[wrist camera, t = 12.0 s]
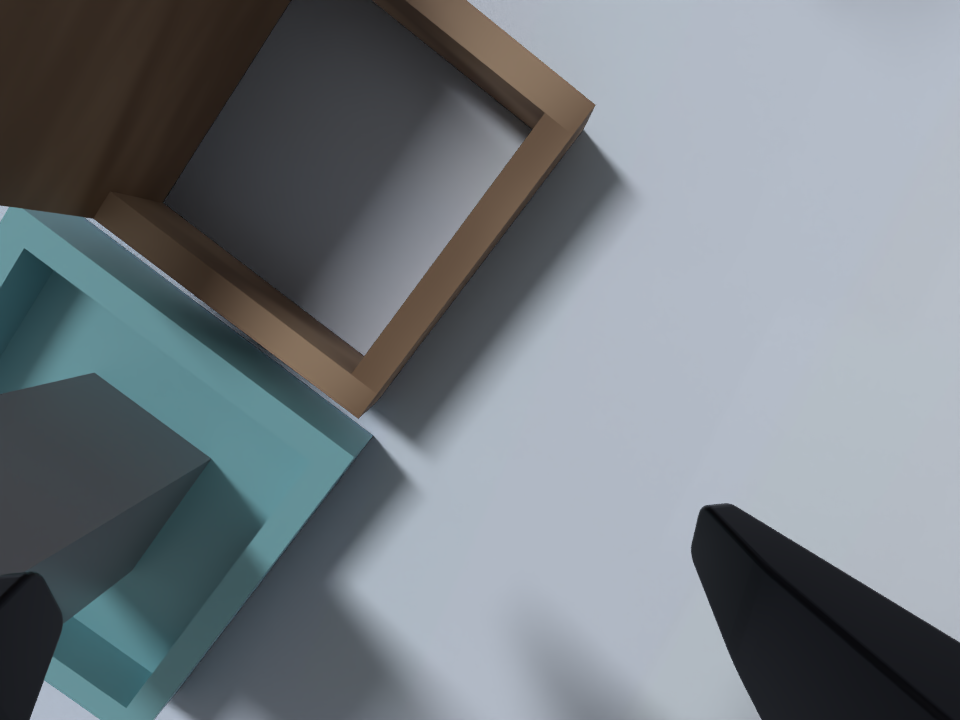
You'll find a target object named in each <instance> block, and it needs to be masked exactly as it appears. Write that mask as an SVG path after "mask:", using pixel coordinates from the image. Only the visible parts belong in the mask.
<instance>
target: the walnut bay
mask: <svg viewBox="0 0 960 720" xmlns="http://www.w3.org/2000/svg"><path fill="white" fill-rule="evenodd" d="M290 1H291V0H0V205H1V206H8V207H15V208H22V209H29V210H36V211H43V212H50V213H57V214H65V215H72V216H79V217H86V218H93V219H94V220H96V221H97V222H98V223H100V224H101V225H102V226H104V227H105V228H106V229H108V230H109V231H110V232H112V233H113V234H114V235H116V236H117V237H118V238H120V239H121V240H122V241H124V242H125V243H126V244H128V245H129V246H130V247H132V248H133V249H134V250H136V251H137V252H138V253H140V254H141V255H142V256H143V257H145V258H146V259H147V260H149V261H150V262H151V263H153V264H154V265H155V266H157V267H158V268H159V269H161V270H162V271H163V272H165V273H166V274H167V275H169V276H170V277H171V278H173V279H174V280H175V281H177V282H178V283H179V284H181V285H182V286H183V287H185V288H186V289H187V290H188V291H190V292H191V293H192V294H194V295H195V296H196V297H198V298H199V299H200V300H202V301H203V302H204V303H206V304H207V305H208V306H210V307H211V308H212V309H214V310H215V311H216V312H218V313H219V314H220V315H222V316H223V317H224V318H226V319H227V320H228V321H230V322H231V323H232V324H234V325H235V326H236V327H237V328H239V329H240V330H241V331H243V332H244V333H245V334H247V335H248V336H249V337H251V338H252V339H253V340H255V341H256V342H257V343H259V344H260V345H261V346H263V347H264V348H265V349H267V350H268V351H269V352H271V353H272V354H273V355H275V356H276V357H277V358H279V359H280V360H281V361H283V362H284V363H285V364H286V365H288V366H289V367H290V368H292V369H293V370H294V371H296V372H297V373H298V374H300V375H301V376H302V377H304V378H305V379H306V380H308V381H309V382H310V383H312V384H313V385H314V386H316V387H317V388H318V389H320V390H321V391H322V392H324V393H325V394H326V395H328V396H329V397H330V398H332V399H333V400H334V401H335V402H337V403H338V404H339V405H341V406H342V407H343V408H345V409H346V410H347V411H349V412H350V413H351V414H353V415H354V416H355V417H357V418H358V419H359V418H360V417H361V416H362V415H363V414H364V413H365V412H366V411H367V410H368V409H369V408H370V407H372V406H373V405H374V404H375V403H376V402H377V401H378V400H379V398H380V397H381V396H382V394H383V393H384V392H385V390H386V389H387V388H388V386H389V385H390V384H391V383H392V381H393V380H394V379H395V377H396V376H397V375H398V373H399V372H400V371H401V369H402V368H403V367H404V365H405V364H406V363H407V361H408V360H409V359H410V357H411V356H412V355H413V354H414V352H415V351H416V350H417V348H418V347H419V346H420V344H421V343H422V342H423V340H424V339H425V338H426V336H427V335H428V334H429V332H430V331H431V330H432V328H433V327H434V326H435V325H436V323H437V322H438V321H439V319H440V318H441V317H442V315H443V314H444V313H445V311H446V310H447V309H448V307H449V306H450V305H451V303H452V302H453V301H454V299H455V298H456V297H457V295H458V294H459V293H460V292H461V290H462V289H463V288H464V286H465V285H466V284H467V282H468V281H469V280H470V278H471V277H472V276H473V274H474V273H475V272H476V270H477V269H478V268H479V266H480V265H481V264H482V263H483V261H484V260H485V259H486V257H487V256H488V255H489V253H490V252H491V251H492V249H493V248H494V247H495V245H496V244H497V243H498V241H499V240H500V239H501V237H502V236H503V235H504V234H505V232H506V231H507V230H508V228H509V227H510V226H511V224H512V223H513V222H514V220H515V219H516V218H517V216H518V215H519V214H520V212H521V211H522V210H523V208H524V207H525V206H526V204H527V203H528V202H529V201H530V199H531V198H532V197H533V195H534V194H535V193H536V191H537V190H538V189H539V187H540V186H541V185H542V183H543V182H544V181H545V179H546V178H547V177H548V175H549V174H550V173H551V172H552V170H553V169H554V168H555V166H556V165H557V164H558V162H559V161H560V160H561V158H562V157H563V156H564V154H565V153H566V152H567V150H568V149H569V148H570V146H571V145H572V144H573V143H574V141H575V140H576V139H577V137H578V136H579V135H580V133H581V132H582V131H583V129H584V127H585V125H586V123H587V121H588V119H589V117H590V115H591V113H592V111H593V109H594V107H595V104H594V103H592V102H591V101H590V100H589V99H587V98H586V97H585V96H584V95H583V94H581V93H580V92H579V91H578V90H576V89H575V88H574V87H573V86H571V85H570V84H569V83H568V82H567V81H565V80H564V79H563V78H562V77H560V76H559V75H558V74H557V73H555V72H554V71H553V70H552V69H550V68H549V67H548V66H547V65H546V64H544V63H543V62H542V61H541V60H539V59H538V58H537V57H536V56H534V55H533V54H532V53H531V52H529V51H528V50H527V49H526V48H525V47H523V46H522V45H521V44H520V43H518V42H517V41H516V40H515V39H513V38H512V37H511V36H510V35H509V34H507V33H506V32H505V31H504V30H502V29H501V28H500V27H499V26H497V25H496V24H495V23H494V22H492V21H491V20H490V19H489V18H488V17H486V16H485V15H484V14H483V13H481V12H480V11H479V10H478V9H476V8H475V7H474V6H473V5H471V4H470V3H469V2H468V1H467V0H372V1H373V2H374V3H376V4H377V5H378V6H379V7H381V8H382V9H383V10H384V11H386V12H387V13H388V14H389V15H391V16H392V17H393V18H394V19H396V20H397V21H398V22H399V23H400V24H402V25H403V26H404V27H405V28H407V29H408V30H409V31H410V32H412V33H413V34H414V35H415V36H417V37H418V38H419V39H420V40H422V41H423V42H424V43H425V44H427V45H428V46H429V47H430V48H432V49H433V50H434V51H435V52H437V53H438V54H439V55H440V56H442V57H443V58H444V59H445V60H447V61H448V62H449V63H450V64H452V65H453V66H454V67H455V68H457V69H458V70H459V71H460V72H462V73H463V74H464V75H465V76H467V77H468V78H469V79H470V80H472V81H473V82H474V83H475V84H477V85H478V86H479V87H480V88H482V89H483V90H484V91H485V92H487V93H488V94H489V95H490V96H492V97H493V98H494V99H495V100H496V101H498V102H499V103H500V104H501V105H503V106H504V107H505V108H506V109H508V110H509V111H510V112H511V113H513V114H514V115H515V116H516V117H518V118H519V119H520V120H521V121H523V122H524V123H525V124H526V125H528V126H529V127H530V128H531V129H533V130H532V131H531V132H530V134H529V135H528V136H527V138H526V139H525V140H524V142H523V143H522V144H521V146H520V147H519V148H518V150H517V151H516V152H515V154H514V155H513V156H512V158H511V159H510V161H509V162H508V163H507V165H506V166H505V167H504V169H503V170H502V171H501V173H500V174H499V175H498V177H497V178H496V179H495V181H494V182H493V183H492V185H491V186H490V188H489V189H488V190H487V192H486V193H485V194H484V196H483V197H482V198H481V200H480V201H479V202H478V204H477V205H476V206H475V208H474V209H473V210H472V212H471V213H470V214H469V216H468V217H467V219H466V220H465V221H464V223H463V224H462V225H461V227H460V228H459V229H458V231H457V232H456V233H455V235H454V236H453V237H452V239H451V240H450V241H449V243H448V244H447V245H446V247H445V248H444V250H443V251H442V252H441V254H440V255H439V256H438V258H437V259H436V260H435V262H434V263H433V264H432V266H431V267H430V268H429V270H428V271H427V272H426V274H425V275H424V277H423V278H422V279H421V281H420V282H419V283H418V285H417V286H416V287H415V289H414V290H413V291H412V293H411V294H410V295H409V297H408V298H407V299H406V301H405V302H404V303H403V305H402V306H401V308H400V309H399V310H398V312H397V313H396V314H395V316H394V317H393V318H392V320H391V321H390V322H389V324H388V325H387V326H386V328H385V329H384V330H383V332H382V333H381V334H380V336H379V337H378V339H377V340H376V341H375V343H374V344H373V345H372V347H371V348H370V349H369V351H368V352H367V353H366V355H365V356H363V355H362V354H360V353H359V352H358V351H356V350H355V349H354V348H353V347H351V346H350V345H349V344H347V343H346V342H345V341H343V340H342V339H341V338H339V337H338V336H337V335H335V334H334V333H333V332H332V331H330V330H329V329H328V328H326V327H325V326H324V325H322V324H321V323H320V322H318V321H317V320H316V319H314V318H313V317H312V316H311V315H309V314H308V313H307V312H305V311H304V310H303V309H301V308H300V307H299V306H297V305H296V304H295V303H294V302H292V301H291V300H290V299H288V298H287V297H286V296H284V295H283V294H282V293H280V292H279V291H278V290H276V289H275V288H274V287H273V286H271V285H270V284H269V283H267V282H266V281H265V280H263V279H262V278H261V277H259V276H258V275H257V274H255V273H254V272H253V271H252V270H250V269H249V268H248V267H246V266H245V265H244V264H242V263H241V262H240V261H238V260H237V259H236V258H234V257H233V256H232V255H231V254H229V253H228V252H227V251H225V250H224V249H223V248H221V247H220V246H219V245H217V244H216V243H215V242H214V241H212V240H211V239H210V238H208V237H207V236H206V235H204V234H203V233H202V232H200V231H199V230H198V229H196V228H195V227H194V226H193V225H191V224H190V223H189V222H187V221H186V220H185V219H183V218H182V217H181V216H179V215H178V214H177V213H175V212H174V211H173V210H172V209H170V208H169V207H168V206H166V205H165V204H164V203H163V201H164V199H165V198H166V196H167V195H168V193H169V192H170V190H171V188H172V187H173V185H174V184H175V182H176V181H177V179H178V177H179V176H180V174H181V173H182V171H183V170H184V168H185V166H186V165H187V163H188V162H189V160H190V158H191V157H192V155H193V154H194V152H195V151H196V149H197V147H198V146H199V144H200V143H201V141H202V140H203V138H204V136H205V135H206V133H207V132H208V130H209V129H210V127H211V125H212V124H213V122H214V121H215V119H216V118H217V116H218V114H219V113H220V111H221V110H222V108H223V107H224V105H225V103H226V102H227V100H228V99H229V97H230V96H231V94H232V92H233V91H234V89H235V88H236V86H237V84H238V83H239V81H240V80H241V78H242V77H243V75H244V73H245V72H246V70H247V69H248V67H249V66H250V64H251V62H252V61H253V59H254V58H255V56H256V55H257V53H258V51H259V50H260V48H261V47H262V45H263V44H264V42H265V40H266V39H267V37H268V36H269V34H270V33H271V31H272V29H273V28H274V26H275V25H276V23H277V22H278V20H279V18H280V17H281V15H282V14H283V12H284V11H285V9H286V7H287V6H288V4H289V3H290Z"/></svg>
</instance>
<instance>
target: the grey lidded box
mask: <svg viewBox="0 0 960 720" xmlns="http://www.w3.org/2000/svg"><path fill="white" fill-rule="evenodd" d="M210 460H211V458H210V457H209V456H207V455H206V454H204V453H203V452H202V451H200V450H199V449H198V448H196V447H195V446H194V445H192V444H191V443H190V442H188V441H187V440H185V439H184V438H183V437H181V436H180V435H179V434H177V433H176V432H175V431H173V430H172V429H171V428H169V427H168V426H166V425H165V424H164V423H162V422H161V421H160V420H158V419H157V418H156V417H154V416H153V415H151V414H150V413H149V412H147V411H146V410H145V409H143V408H142V407H141V406H139V405H138V404H137V403H135V402H134V401H132V400H131V399H130V398H128V397H127V396H126V395H124V394H123V393H122V392H120V391H119V390H118V389H116V388H115V387H113V386H112V385H111V384H109V383H108V382H107V381H105V380H104V379H103V378H101V377H100V376H99V375H97V374H96V373H90V374H86V375H81V376H77V377H73V378H68V379H64V380H59V381H55V382H51V383H46V384H42V385H37V386H33V387H29V388H24V389H20V390H16V391H11V392H7V393H2V394H0V575H4V574H10V573H20V572H31V571H32V572H37V573H39V574H41V575H42V576H43V577H44V579H45V581H46V583H47V585H48V586H49V588H50V590H51V592H52V594H53V596H54V598H55V600H56V602H57V604H58V605H59V607H60V609H61V612H62V615H63V624H64V623H65V622H66V621H68V620H69V619H70V618H72V617H73V616H74V615H75V614H77V613H78V612H79V611H81V610H82V609H83V608H84V607H86V606H87V605H88V604H90V603H91V602H92V601H93V600H95V599H96V598H97V597H99V596H100V595H101V594H103V593H104V592H105V591H106V590H108V589H109V588H110V587H112V586H113V585H114V584H115V583H117V582H118V581H119V580H121V579H122V578H123V577H124V576H126V575H127V574H128V573H130V572H131V571H132V570H133V568H134V567H135V566H136V564H137V563H138V561H139V560H140V558H141V557H142V556H143V554H144V553H145V551H146V550H147V549H148V547H149V546H150V544H151V543H152V542H153V540H154V539H155V537H156V536H157V535H158V533H159V532H160V530H161V529H162V527H163V526H164V525H165V523H166V522H167V520H168V519H169V518H170V516H171V515H172V513H173V512H174V511H175V509H176V508H177V506H178V505H179V504H180V502H181V501H182V499H183V498H184V496H185V495H186V494H187V492H188V491H189V489H190V488H191V487H192V485H193V484H194V482H195V481H196V480H197V478H198V477H199V475H200V474H201V473H202V471H203V470H204V468H205V467H206V465H207V464H208V463H209V461H210Z"/></svg>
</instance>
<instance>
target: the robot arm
mask: <svg viewBox="0 0 960 720" xmlns="http://www.w3.org/2000/svg"><path fill="white" fill-rule="evenodd" d="M691 554H692V559H693V563H694V565H695V568H696V570H697V573H698V576H699V578H700V581H701V583H702V586H703V588H704V591H705V593H706V596H707V598H708V601H709V604H710V606H711V609H712V611H713V614H714V616H715V619H716V621H717V624H718V626H719V629H720V632H721V634H722V637H723V639H724V642H725V644H726V647H727V649H728V652H729V654H730V656H731V659H732V661H733V663H734V666H735V668H736V670H737V672H738V674H739V676H740V678H741V680H742V682H743V684H744V686H745V688H746V690H747V692H748V694H749V696H750V698H751V700H752V702H753V704H754V706H755V708H756V710H757V712H758V714H759V716H760V718H761V719H762V720H960V642H958V641H957V640H955V639H953V638H952V637H950V636H948V635H947V634H945V633H943V632H942V631H940V630H938V629H937V628H935V627H933V626H932V625H930V624H929V623H927V622H925V621H924V620H922V619H920V618H919V617H917V616H915V615H914V614H912V613H910V612H909V611H907V610H906V609H904V608H902V607H901V606H899V605H897V604H896V603H894V602H892V601H891V600H889V599H887V598H886V597H884V596H883V595H881V594H879V593H878V592H876V591H874V590H873V589H871V588H869V587H868V586H866V585H864V584H863V583H861V582H860V581H858V580H856V579H855V578H853V577H851V576H850V575H848V574H846V573H845V572H843V571H841V570H840V569H838V568H836V567H835V566H833V565H832V564H830V563H828V562H827V561H825V560H823V559H822V558H820V557H818V556H817V555H815V554H813V553H812V552H810V551H809V550H807V549H805V548H804V547H802V546H800V545H799V544H797V543H795V542H794V541H792V540H790V539H789V538H787V537H786V536H784V535H782V534H781V533H779V532H777V531H776V530H774V529H772V528H771V527H769V526H767V525H766V524H764V523H763V522H761V521H759V520H758V519H756V518H754V517H753V516H751V515H749V514H748V513H746V512H744V511H743V510H741V509H739V508H738V507H736V506H734V505H732V504H727V503H724V504H714V505H706V506H703V507H702V509H701V510H700V512H699V515H698V519H697V524H696V528H695V532H694V536H693V540H692V545H691ZM62 627H63V615H62V612H61V609H60V607H59V605H58V604H57V602H56V600H55V598H54V596H53V594H52V592H51V590H50V588H49V586H48V585H47V583H46V581H45V579H44V577H43V576H42V575H41V574H39V573H37V572H32V571H31V572H20V573H10V574H4V575H0V720H30V717H31V714H32V712H33V709H34V706H35V703H36V701H37V698H38V695H39V692H40V690H41V687H42V684H43V682H44V679H45V676H46V673H47V671H48V668H49V665H50V662H51V660H52V657H53V654H54V652H55V649H56V646H57V643H58V641H59V638H60V635H61V632H62Z"/></svg>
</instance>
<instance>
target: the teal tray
mask: <svg viewBox="0 0 960 720" xmlns="http://www.w3.org/2000/svg"><path fill="white" fill-rule="evenodd" d="M90 373H96V374H97V375H99V376H100V377H101V378H103V379H104V380H105V381H107V382H108V383H109V384H111V385H112V386H113V387H115V388H116V389H118V390H119V391H120V392H122V393H123V394H124V395H126V396H127V397H128V398H130V399H131V400H132V401H134V402H135V403H137V404H138V405H139V406H141V407H142V408H143V409H145V410H146V411H147V412H149V413H150V414H151V415H153V416H154V417H156V418H157V419H158V420H160V421H161V422H162V423H164V424H165V425H166V426H168V427H169V428H171V429H172V430H173V431H175V432H176V433H177V434H179V435H180V436H181V437H183V438H184V439H185V440H187V441H188V442H190V443H191V444H192V445H194V446H195V447H196V448H198V449H199V450H200V451H202V452H203V453H204V454H206V455H207V456H209V457H210V458H211V460H210V461H209V463H208V464H207V465H206V467H205V468H204V470H203V471H202V473H201V474H200V475H199V477H198V478H197V480H196V481H195V482H194V484H193V485H192V487H191V488H190V489H189V491H188V492H187V494H186V495H185V496H184V498H183V499H182V501H181V502H180V504H179V505H178V506H177V508H176V509H175V511H174V512H173V513H172V515H171V516H170V518H169V519H168V520H167V522H166V523H165V525H164V526H163V527H162V529H161V530H160V532H159V533H158V535H157V536H156V537H155V539H154V540H153V542H152V543H151V544H150V546H149V547H148V549H147V550H146V551H145V553H144V554H143V556H142V557H141V558H140V560H139V561H138V563H137V564H136V566H135V567H134V568H133V570H132V571H131V572H130V573H128V574H127V575H126V576H124V577H123V578H122V579H121V580H119V581H118V582H117V583H115V584H114V585H113V586H112V587H110V588H109V589H108V590H106V591H105V592H104V593H103V594H101V595H100V596H99V597H97V598H96V599H95V600H93V601H92V602H91V603H90V604H88V605H87V606H86V607H84V608H83V609H82V610H81V611H79V612H78V613H77V614H75V615H74V616H73V617H72V618H70V619H69V620H68V621H66V622H65V623H64V624H63V627H62V632H61V635H60V638H59V641H58V643H57V646H56V649H55V652H54V654H53V657H52V660H51V662H50V665H49V668H48V671H47V673H46V676H45V679H44V680H45V681H46V682H48V683H49V684H50V685H52V686H53V687H55V688H56V689H57V690H59V691H60V692H62V693H63V694H65V695H66V696H67V697H69V698H70V699H72V700H73V701H75V702H76V703H77V704H79V705H80V706H82V707H83V708H85V709H86V710H87V711H89V712H90V713H92V714H93V715H94V716H96V717H97V718H99V719H100V720H155V718H156V717H157V716H158V715H159V713H160V712H161V711H162V710H163V708H164V707H165V706H166V705H167V703H168V702H169V701H170V700H171V698H172V697H173V696H174V695H175V694H176V692H177V691H178V690H179V688H180V687H181V686H182V684H183V683H184V682H185V680H186V679H187V678H188V677H189V675H190V674H191V673H192V671H193V670H194V669H195V667H196V666H197V665H198V664H199V662H200V661H201V660H202V658H203V657H204V656H205V654H206V653H207V652H208V650H209V649H210V648H211V647H212V645H213V644H214V643H215V641H216V640H217V639H218V637H219V636H220V635H221V634H222V632H223V631H224V630H225V628H226V627H227V626H228V624H229V623H230V622H231V620H232V619H233V618H234V617H235V615H236V614H237V613H238V611H239V610H240V609H241V607H242V606H243V605H244V603H245V602H246V601H247V600H248V598H249V597H250V596H251V594H252V593H253V592H254V590H255V589H256V588H257V587H258V585H259V584H260V583H261V581H262V580H263V579H264V577H265V576H266V575H267V573H268V572H269V571H270V570H271V568H272V567H273V566H274V564H275V563H276V562H277V560H278V559H279V558H280V557H281V555H282V554H283V553H284V551H285V550H286V549H287V547H288V546H289V545H290V543H291V542H292V541H293V540H294V538H295V537H296V536H297V534H298V533H299V532H300V530H301V529H302V528H303V526H304V525H305V524H306V523H307V521H308V520H309V519H310V517H311V516H312V515H313V513H314V512H315V511H316V510H317V508H318V507H319V506H320V504H321V503H322V502H323V500H324V499H325V498H326V496H327V495H328V494H329V493H330V491H331V490H332V489H333V487H334V486H335V485H336V483H337V482H338V481H339V480H340V478H341V477H342V476H343V474H344V473H345V472H346V470H347V469H348V468H349V466H350V465H351V464H352V463H353V461H354V460H355V459H356V457H357V456H358V455H359V453H360V452H361V451H362V450H363V448H364V447H365V446H366V444H367V443H368V442H369V440H370V439H371V438H372V436H373V435H371V434H370V433H369V432H367V431H366V430H365V429H363V428H362V427H361V426H359V425H358V424H357V423H356V422H354V421H353V420H352V419H350V418H349V417H348V416H346V415H345V414H344V413H342V412H341V411H340V410H338V409H337V408H336V407H334V406H333V405H332V404H330V403H329V402H328V401H326V400H325V399H324V398H322V397H321V396H320V395H318V394H317V393H316V392H314V391H313V390H312V389H310V388H309V387H308V386H306V385H305V384H304V383H302V382H301V381H300V380H299V379H297V378H296V377H295V376H293V375H292V374H291V373H289V372H288V371H287V370H285V369H284V368H283V367H281V366H280V365H279V364H277V363H276V362H275V361H273V360H272V359H271V358H269V357H268V356H267V355H265V354H264V353H263V352H261V351H260V350H259V349H257V348H256V347H255V346H253V345H252V344H251V343H249V342H248V341H247V340H246V339H244V338H243V337H242V336H240V335H239V334H238V333H236V332H235V331H234V330H232V329H231V328H230V327H228V326H227V325H226V324H224V323H223V322H222V321H220V320H219V319H218V318H216V317H215V316H214V315H212V314H211V313H210V312H208V311H207V310H206V309H204V308H203V307H202V306H200V305H199V304H198V303H196V302H195V301H194V300H192V299H191V298H190V297H189V296H187V295H186V294H185V293H183V292H182V291H181V290H179V289H178V288H177V287H175V286H174V285H173V284H171V283H170V282H169V281H167V280H166V279H165V278H163V277H162V276H161V275H159V274H158V273H157V272H155V271H154V270H153V269H151V268H150V267H149V266H147V265H146V264H145V263H143V262H142V261H141V260H139V259H138V258H137V257H136V256H134V255H133V254H132V253H130V252H129V251H128V250H126V249H125V248H124V247H122V246H121V245H120V244H118V243H117V242H116V241H114V240H113V239H112V238H110V237H109V236H108V235H106V234H105V233H104V232H102V231H101V230H100V229H98V228H97V227H96V226H94V225H93V224H92V223H90V222H89V221H88V220H86V219H85V218H84V217H79V216H72V215H65V214H57V213H50V212H43V211H36V210H29V209H22V208H15V207H9V208H8V210H7V212H6V213H5V215H4V217H3V219H2V220H1V222H0V394H2V393H7V392H11V391H16V390H20V389H24V388H29V387H33V386H37V385H42V384H46V383H51V382H55V381H59V380H64V379H68V378H73V377H77V376H81V375H86V374H90Z"/></svg>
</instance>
